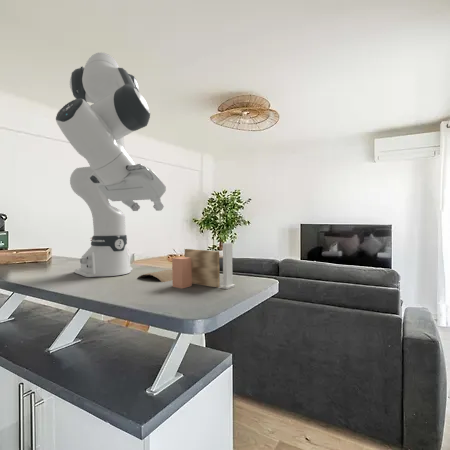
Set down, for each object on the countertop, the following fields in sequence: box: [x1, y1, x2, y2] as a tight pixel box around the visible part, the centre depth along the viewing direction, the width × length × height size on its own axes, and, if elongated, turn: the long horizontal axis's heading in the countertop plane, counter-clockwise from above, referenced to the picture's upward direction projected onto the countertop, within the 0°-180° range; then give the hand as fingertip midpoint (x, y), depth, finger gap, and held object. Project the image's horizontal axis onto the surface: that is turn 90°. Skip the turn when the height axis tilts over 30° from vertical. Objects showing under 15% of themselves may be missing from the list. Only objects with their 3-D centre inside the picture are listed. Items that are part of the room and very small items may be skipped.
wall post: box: [220, 242, 236, 290], centre depth 91 cm, size 2×4×13 cm, turn 143°
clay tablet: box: [137, 269, 173, 283], centre depth 107 cm, size 14×10×3 cm
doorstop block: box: [171, 256, 193, 289], centre depth 93 cm, size 4×4×8 cm
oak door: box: [184, 248, 221, 288], centre depth 94 cm, size 13×2×10 cm, turn 53°
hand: (148, 209), depth 83 cm, fingers open, 8 cm apart
